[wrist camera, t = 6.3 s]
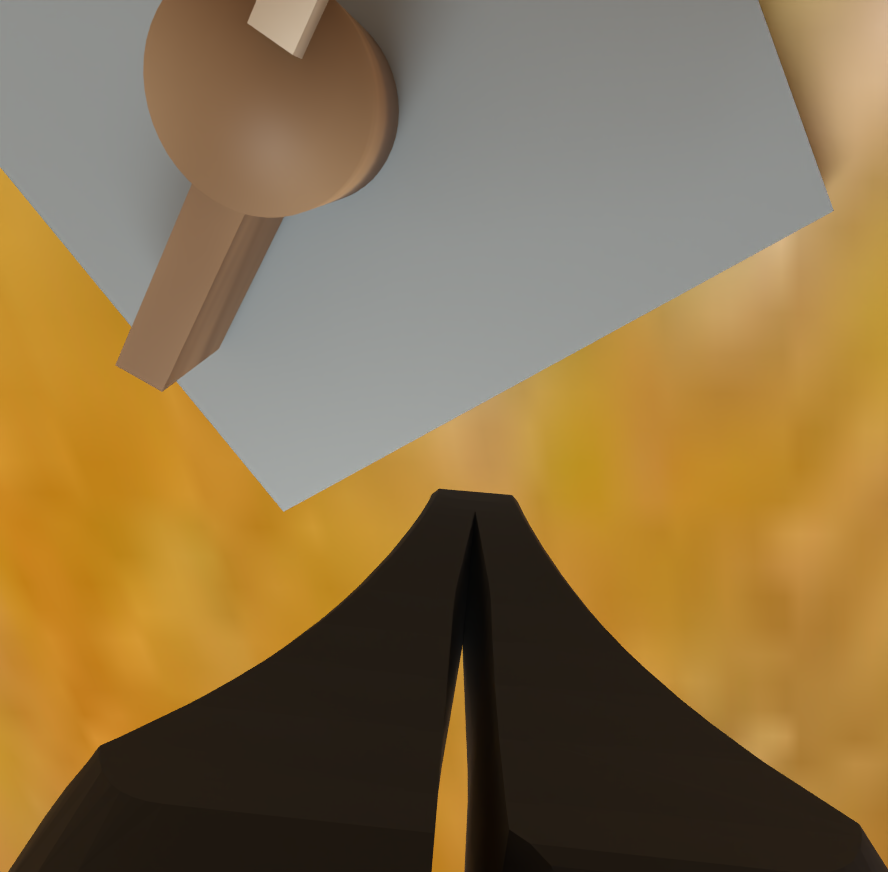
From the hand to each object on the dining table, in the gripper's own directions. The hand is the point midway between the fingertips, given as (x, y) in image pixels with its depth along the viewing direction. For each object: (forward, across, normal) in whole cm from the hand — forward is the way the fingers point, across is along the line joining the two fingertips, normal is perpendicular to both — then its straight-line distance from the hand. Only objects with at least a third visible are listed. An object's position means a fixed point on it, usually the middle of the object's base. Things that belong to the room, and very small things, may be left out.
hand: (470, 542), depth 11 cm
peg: (+8, +5, -6) cm, 11 cm away
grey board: (+10, +3, -6) cm, 12 cm away
